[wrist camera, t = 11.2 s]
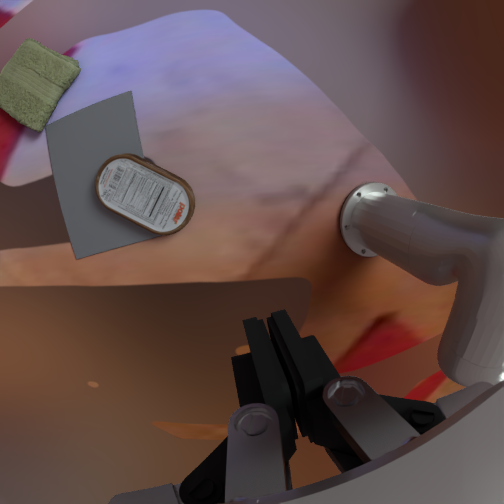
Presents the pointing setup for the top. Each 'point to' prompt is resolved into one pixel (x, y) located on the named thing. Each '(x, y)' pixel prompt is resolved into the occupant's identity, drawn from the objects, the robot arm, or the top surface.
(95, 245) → the mat
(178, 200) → the tin
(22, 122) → the washcloth
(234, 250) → the top surface
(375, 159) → the top surface
